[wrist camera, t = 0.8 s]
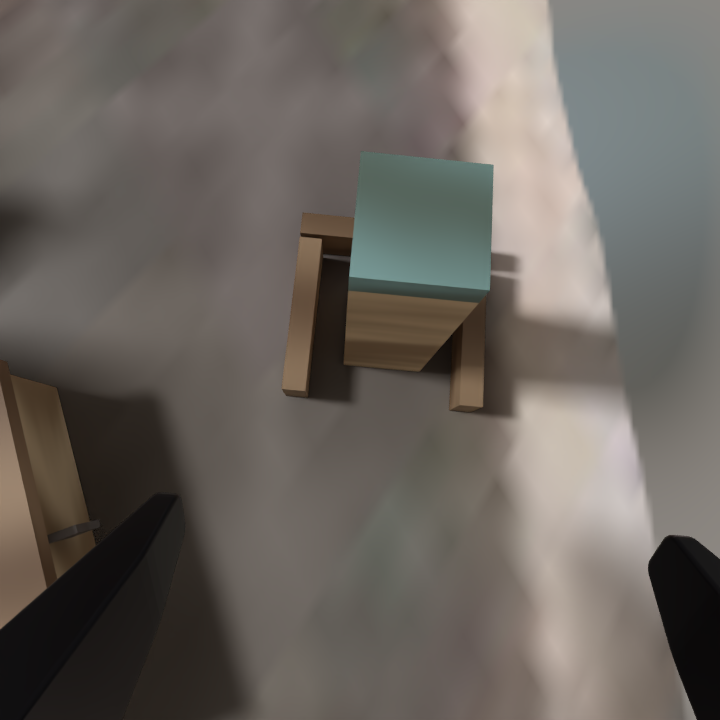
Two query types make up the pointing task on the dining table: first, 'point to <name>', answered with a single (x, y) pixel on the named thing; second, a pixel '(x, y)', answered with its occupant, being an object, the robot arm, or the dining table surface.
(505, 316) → the dining table surface
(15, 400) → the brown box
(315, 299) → the frame
